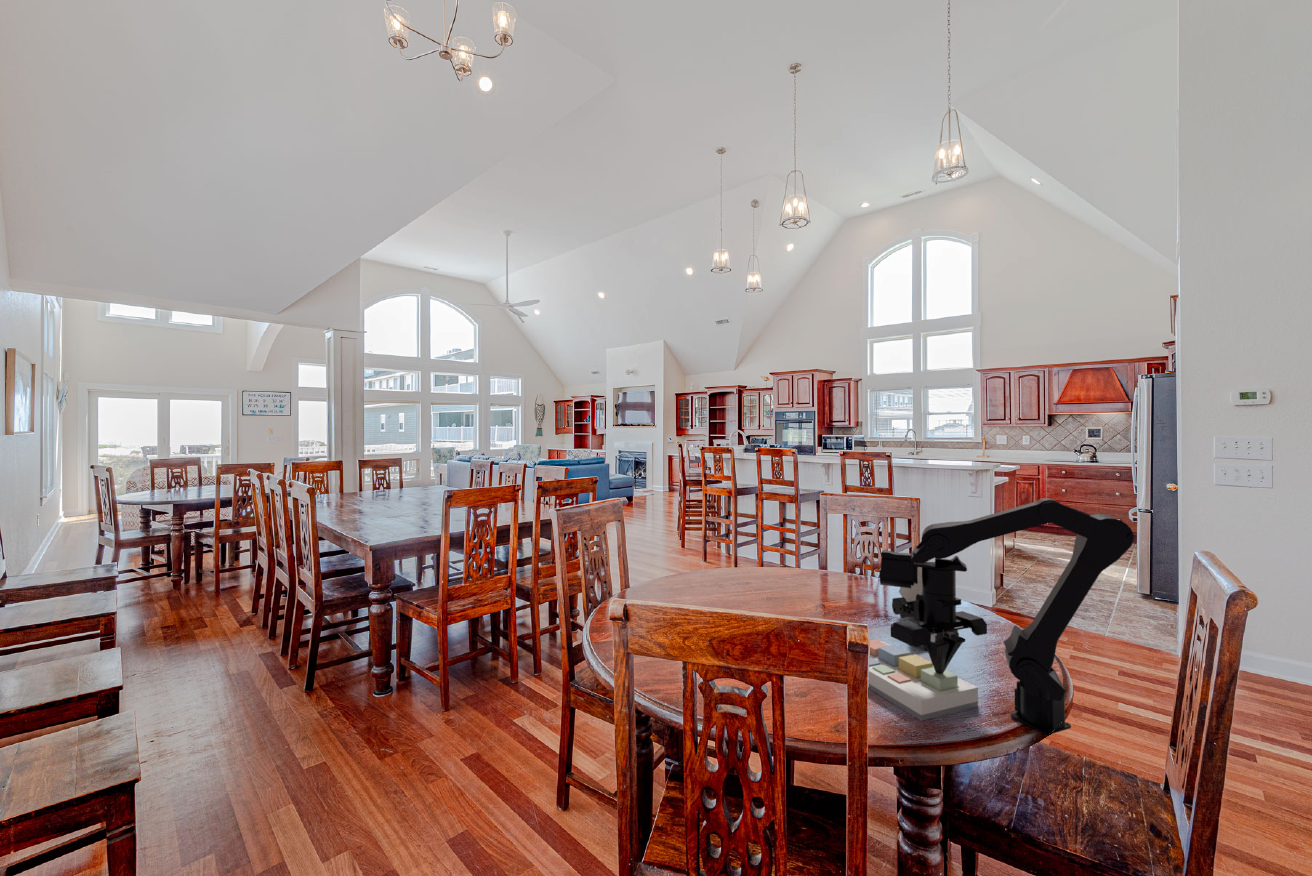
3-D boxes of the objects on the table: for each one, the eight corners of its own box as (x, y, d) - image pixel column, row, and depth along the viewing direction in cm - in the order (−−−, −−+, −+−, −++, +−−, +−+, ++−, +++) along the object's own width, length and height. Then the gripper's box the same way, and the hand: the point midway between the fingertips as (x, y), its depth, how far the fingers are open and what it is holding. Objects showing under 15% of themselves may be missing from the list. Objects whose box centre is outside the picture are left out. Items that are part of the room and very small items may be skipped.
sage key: (957, 694, 99) (957, 675, 99) (940, 698, 97) (940, 679, 97) (937, 684, 103) (937, 666, 103) (920, 687, 101) (920, 669, 101)
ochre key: (933, 680, 104) (933, 662, 104) (916, 684, 102) (916, 666, 102) (915, 671, 108) (915, 654, 108) (898, 674, 106) (898, 657, 106)
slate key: (910, 669, 109) (910, 652, 109) (894, 672, 107) (894, 655, 107) (894, 660, 113) (894, 644, 113) (878, 663, 112) (878, 647, 112)
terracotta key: (890, 662, 114) (890, 646, 114) (874, 665, 113) (874, 649, 113) (875, 654, 118) (875, 639, 118) (860, 657, 117) (860, 642, 117)
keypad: (978, 706, 98) (977, 685, 98) (921, 720, 93) (921, 698, 93) (882, 656, 121) (882, 640, 121) (832, 666, 116) (832, 648, 116)
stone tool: (897, 615, 149) (897, 562, 149) (900, 612, 152) (900, 560, 152) (930, 621, 144) (930, 567, 144) (933, 618, 146) (932, 564, 146)
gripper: (939, 576, 111) (939, 649, 111) (869, 585, 104) (869, 663, 104) (988, 590, 100) (989, 671, 100) (914, 601, 94) (915, 688, 94)
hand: (939, 672), depth 100 cm, fingers closed, pressing on sage key
